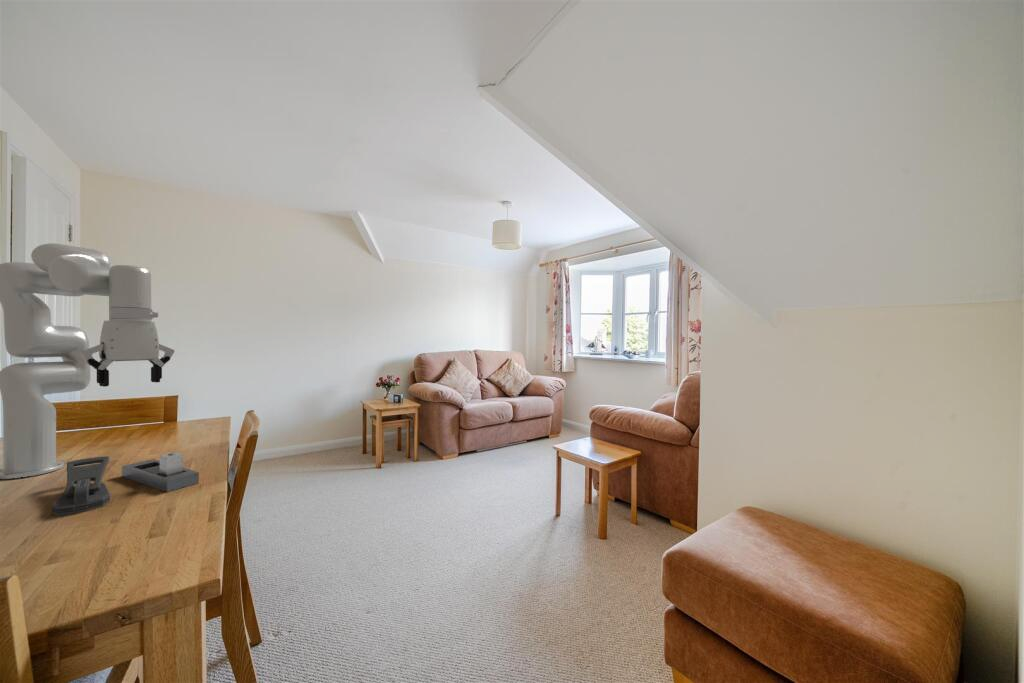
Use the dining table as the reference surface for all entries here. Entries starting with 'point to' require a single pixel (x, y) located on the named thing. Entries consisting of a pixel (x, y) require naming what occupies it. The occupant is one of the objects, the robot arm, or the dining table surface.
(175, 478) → the rail
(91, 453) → the dining table surface
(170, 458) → the grey tall square block
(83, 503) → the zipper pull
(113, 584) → the dining table surface
